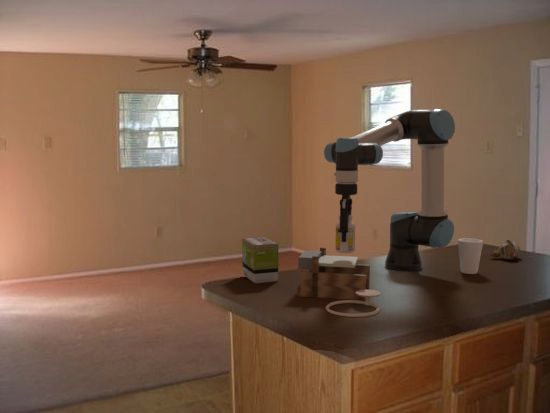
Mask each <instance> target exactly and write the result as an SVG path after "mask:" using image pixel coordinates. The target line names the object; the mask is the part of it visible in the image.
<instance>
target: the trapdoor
mask: <svg viewBox="0 0 550 413" xmlns="http://www.w3.org/2000/svg"><path fill="white" fill-rule="evenodd" d="M312 256H319V266H331V267H350V268H354V267H355V265H356V264H358V261H359V256H347V255H346V256H345V255H343V256H342V255H327V254H326V255H322V251H320V250H304V251H303V252H302V253H301V254H300V255H299V256H298V262H297V263H298V264H297V265H298V266H297V267H298V269H299V270H309V269H312Z"/></svg>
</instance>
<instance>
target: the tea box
mask: <svg viewBox="0 0 550 413" xmlns="http://www.w3.org/2000/svg"><path fill="white" fill-rule="evenodd" d="M241 247H242V248H241V249H242V250H241V252H242V259H241V261H242V275H243V276H245V277H246V278H247V279H248V280H250V281H251V282H253V284H261V283H274V282H279V243H278V242H276V241H273V240H271V239H270V238H267V236H264V237H263V236H262V237H250V238H248V237H247V238H242V239H241Z"/></svg>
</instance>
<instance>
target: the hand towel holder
mask: <svg viewBox="0 0 550 413" xmlns="http://www.w3.org/2000/svg"><path fill="white" fill-rule="evenodd" d="M356 294H357V295H359V296H361V297H366V300H351V299H341V300H336V301H332V302H329V303H328V304H327V305H326V306H325V310H326V311H327V312H328V313H330V314H333V315H336V316H338V317H339V316H340V317H347V318H364V317H371V316H374V315H377V314H378V313H379V312H380V306H378V305H377V304H375V303H373V302H371V298H376V297H379V296H380V295H381V291H378V290H376V289H366V290H359V291H356ZM340 304H358V305H359V304H360V305H365V306H367V307H368V306H370V307H373V308H374V309H375V310H374V311H370V312H364V313H348V312H347V313H345V312H341V311H336V310H332V309H330V308H331V307H332V306H335V305H340Z"/></svg>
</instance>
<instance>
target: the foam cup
mask: <svg viewBox="0 0 550 413" xmlns="http://www.w3.org/2000/svg"><path fill="white" fill-rule="evenodd" d="M457 247H458V256H459V267H460V273H462V274H468V275H475V274H478V272H479V266H480V261H481V255H482V249H483V247H484V240H482V239H478V238H470V237H469V238H464V237H463V238H458V240H457Z"/></svg>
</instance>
